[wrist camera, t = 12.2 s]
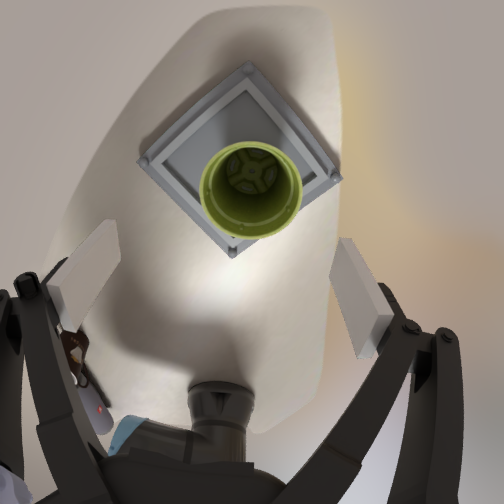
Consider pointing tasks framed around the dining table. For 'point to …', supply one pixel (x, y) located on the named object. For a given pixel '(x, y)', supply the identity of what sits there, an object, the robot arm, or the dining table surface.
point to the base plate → (227, 133)
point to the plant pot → (250, 202)
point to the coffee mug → (75, 353)
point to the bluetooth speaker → (94, 407)
